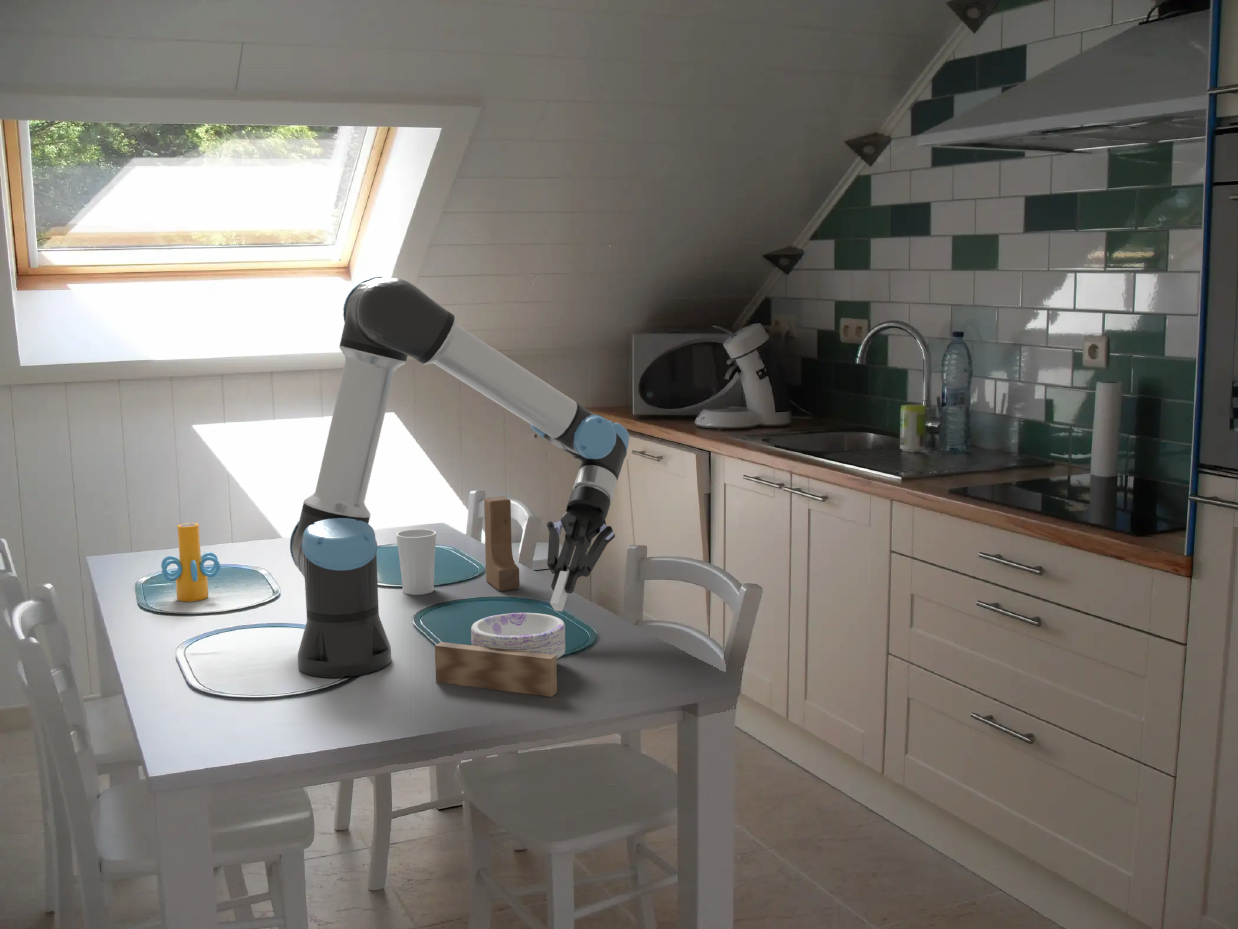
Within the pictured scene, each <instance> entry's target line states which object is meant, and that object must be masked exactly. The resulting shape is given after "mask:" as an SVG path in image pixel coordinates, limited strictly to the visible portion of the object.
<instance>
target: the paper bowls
mask: <svg viewBox="0 0 1238 929" xmlns="http://www.w3.org/2000/svg"><path fill="white" fill-rule="evenodd" d="M470 628H471V629H470V632H471V638H470V641H471V642H470V643H471V645H472V646H481V647H489V648H498V649H507V650H516V651H524V652H533V653H542V654H551V655H556V660H557V659H560V658H561V657H562V656H564V654H565V652H566V624H565V622H564V621H563V619H561V618H560V617H556V616H555V615H551V614H545V613H538V612H534V613H533V612H511V613H503V614H495V615H491V616H490V615H489V616H487V617H483V618H481V619H478V620H477V621H474V622H473V624H472V625H471V627H470Z"/></svg>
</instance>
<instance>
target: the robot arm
mask: <svg viewBox="0 0 1238 929" xmlns="http://www.w3.org/2000/svg"><path fill="white" fill-rule="evenodd" d="M343 304H344V305H343V308H342V309H343V314H342V315H343V320H344V322H343V323H344V324H343V328H342V333H341V338H340V343H339V345H338V346H339V349H340V351H341V352H342V354H343V355H344V358H345V361H344V366H343V370H342V374H341V379H340V382H339V387H338V391H337V396H336V400H335V405H334V409H333V412H332V417H331V422H330V426H329V431H328V435H327V439H326V443H325V448H324V453H323V457H322V461H321V465H320V469H319V475H318V478H317V483H316V487H315V492H313V494H312V495H310V496H308V497H306V498H305V499H304V500H303V504H302V508H301V512H300V517H299V520H298V521H297V522H296V525H295V526H294V527H293V530H292V533H291V535H290V540H289V551H290V556H291V559H292V561H293V563H294V565H295V566H296V568H297V569H298V571H299V572H300V573H301V575H302V576H303V578H304V590H305V610H306V622H305V623H306V624H305V627H304V630H303V633H302V637H301V641H300V645H299V649H298V652H297V665H298V666H297V667H298V669H299V671H301V672H302V673H303V674H307V675H310V676H313V677H319V678H344V677H343V676H350V677H357V676H363V675H367V674H370V673H374V672H377V671H380V670H382V669H384V668H386V667H387V666H388V665H390V664H391V662H392V647H391V643H390V641H389V638H388V636H387V633H386V631H385V628H384V626H383V622H382V620H381V617H380V611H379V609H380V608H379V590H378V589H379V587H378V586H379V585H378V581H379V580H378V562H377V561H378V559H377V552H378V542H377V539H376V538H377V537H376V532H375V530H374V528H373V527H372V526H371V525H370V523H369V522H370V518H371V513H370V511H369V510H368V508H367V506H366V502H365V501H366V497H367V493H368V489H369V483H370V480H371V476H372V471H373V466H374V463H375V458H376V454H377V449H378V445H379V442H380V436H381V433H382V428H383V424H384V420H385V414H386V411H387V406H388V401H389V399H390V393H391V390H392V384H393V381H394V378H395V377H394V376H395V372H396V371H397V370H398V369H399V368H400V367H402V366H404V365H405V364H406V363H407V360H408V357H410V358H412V359H415V360H416V361H417V362H419V363H421V364H422V365H424V366H425V365H426V366H427V365H431V364H434V365H436V366H437V367H438V368H440V369H442V370H443V371H445V372H447V373H448V374H450V375H452V376H453V377H454V378H456V379H457V380H459V381H461V382H462V383H464V384H466V385H467V386H469V387H471V388H472V389H473V390H475V391H477V392H479V393H480V394H481V395H483V396H485V397H486V398H487V399H490V400H492V401H493V402H494V403H495V404H498V405H499V406H500V407H503V408H504V409H505V410H507V411H508V412H510V413H512V414H513V415H515V416H516V417H519V418H520V419H522V420H523V421H525V422H526V423H528V424H529V425H530V429H531V430H532V431H533V432H534V433H536V434H537V435H538V436H540V438H542V439H544V440H546V441H548V442H549V443H551V444H552V445H553V446H556V447H557V448H559V450H562V451H564V452H565V453H567V454H568V455H570V456H571V457H573V458H574V459H576V460H577V461H578V462H580V465H579V468H578V471H577V475H576V477H575V481H574V483H573V486H572V491H571V493H570V495H569V498H568V501H567V504H566V508H565V509H566V510H565V512H564V514H563V515H562V516H561V518H560V520H558V521H555V522H553V521H548V522H547V523H546V526H547V529H548V533H549V534H548V549H547V562H546V565H547V567H548V569H549V571H550V572H551V574H554V575H553V578H552V581H551V584H550V586H551V589H552V590H553V592H552V596H551V599H550V602H549V604H550V605H551V607H552V608H553V610H554V612H564V607H565V604H566V601H567V599H568V595H569V594H573V593H574V591H575V587H576V584H577V582H578V579H579V578H580V577H589V576H590V575H591V573H592V571H593V569H594V568H595V566H596V564H598V561H599V559H600V557H601V555H602V554H603V552H604V550H605V549H606V547H607V545H608V544H609V543H610V542H611V541H613V539H614V538H616V534H615V532H614V529H613V527H612V526H611V525H607V522H606V519H607V517H608V513H609V510H610V508H611V507H610V506H611V502H612V500H613V496H614V493H615V490H616V486H617V484H618V479H619V476H620V474H621V472H622V467H623V464H624V461H625V459H626V456H627V453H628V448H629V444H630V443H629V442H630V435H629V434H630V433H629V432H628V430H627V428H626V427H625V426H623V425H622V424H621V423H619V422H613V421H612V420H610V419H609V420H608V419H606V418H605V417H604V416H602V415H599V414H595V413H594V412H592V411H590V410H589V409H588V408H586V407H584V406H582V405H581V404H580V403H577V402H576V400H574V399H572V398H571V397H569V396H567V395H566V394H564V393H562V391H560V390H558V389H557V388H555V387H553V386H552V385H551V384H549V383H548V382H546V381H545V380H544V379H541V378H540V377H538V376H537V375H536V374H534V373H532V372H530V371H529V370H527V369H526V368H525V367H523V366H522V365H520V364H518V363H517V362H515V361H514V360H512V359H511V358H510V357H508V356H506V355H505V354H503V353H502V352H500V351H498V350H497V349H496V348H494V347H493V346H491V345H489V343H488V344H487V343H486V342H485V341H483V340H482V339H480V338H478V337H477V336H476V335H474V334H473V333H471V332H469V331H468V330H466V329H465V328H464V327H462V326H460V325H459V324H458V319H457V316H456V315H454V314H453V313H451V312H450V311H448V310H447V309H446V308H444V307H443V306H442V305H440V303H437V302H436V301H435V300H434V299H432V298H431V297H429V295H427V294H426V293H425V292H424V291H422V290H421V289H420V288H418V287H417V286H416V285H414V284H413V283H411V282H409V281H407V280H405V279H402V278H396V277H383V276H376V277H375V276H374V277H369V278H367V279H364V280H362V281H361V282H360V283H358V284H357V285H355V286H354V287H353V288H352V290H350V292H349V293H348V295H347V296H346V298H345V300H344V303H343ZM562 529H564V532H565V535H564V541H563V544H562V547H561V550H560V535H561V534H562V533H561V532H562ZM595 537H596V538H595ZM594 538H595V539H594ZM593 539H594V541H593ZM592 541H593V543H592ZM591 544H592V545H591ZM559 553H560V554H559Z"/></svg>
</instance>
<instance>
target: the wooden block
mask: <svg viewBox="0 0 1238 929" xmlns="http://www.w3.org/2000/svg"><path fill="white" fill-rule="evenodd" d="M483 504H484V505H483V507H484V509H483V510H484V538H485V539H484V542H485V543H484V545H485V546H484V549H485V580H486V582H487V583H488V584H489V585H491V586H492V587H493V588H494V589H495V590H497V591H498V592H508V591H516V590H519V589H520V568H519V567H518V566H517V564H516V563H515V559H514V557H513V556H514V555H513V548H512V546H513V545H512V544H513V543H512V542H513V541H512V507H511V506H512V504H511V499H510V498H508V497H506V496H504V495H501V496H489V497H488V496H487V497H484V499H483Z"/></svg>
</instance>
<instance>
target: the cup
mask: <svg viewBox="0 0 1238 929" xmlns="http://www.w3.org/2000/svg"><path fill="white" fill-rule="evenodd" d="M436 540H437V532H436V531H435V530H433V529H428V528H426V529H425V528H413V529H405V530H404V529H403V530H401V531H397V533H396V544H397V550H398V556H399V558H398V559H399V567H400V577H401V585H402V593H403V594H405V595H410V596H411V595H413V596H418V595H419V596H420V595H426V594H430V593H433V592H434V591H435V586H434V581H435V559H436V544H437V542H436Z"/></svg>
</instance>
